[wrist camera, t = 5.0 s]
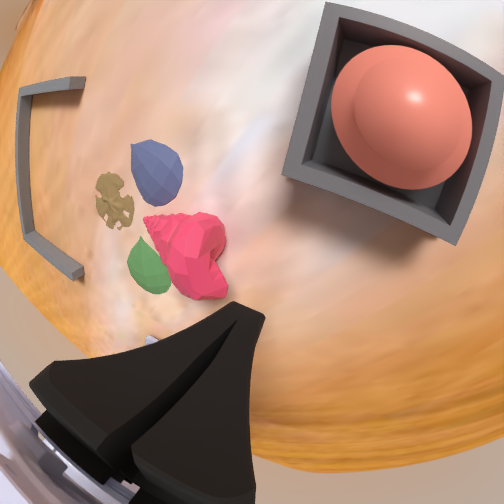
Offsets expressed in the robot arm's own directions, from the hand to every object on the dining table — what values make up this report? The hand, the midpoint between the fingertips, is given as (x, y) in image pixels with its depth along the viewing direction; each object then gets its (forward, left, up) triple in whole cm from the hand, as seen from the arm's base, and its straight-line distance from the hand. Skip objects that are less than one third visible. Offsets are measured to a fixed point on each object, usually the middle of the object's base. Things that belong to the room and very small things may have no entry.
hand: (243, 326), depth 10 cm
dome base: (+9, -3, -5) cm, 11 cm away
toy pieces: (0, +9, -6) cm, 11 cm away
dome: (+9, -3, -4) cm, 10 cm away
